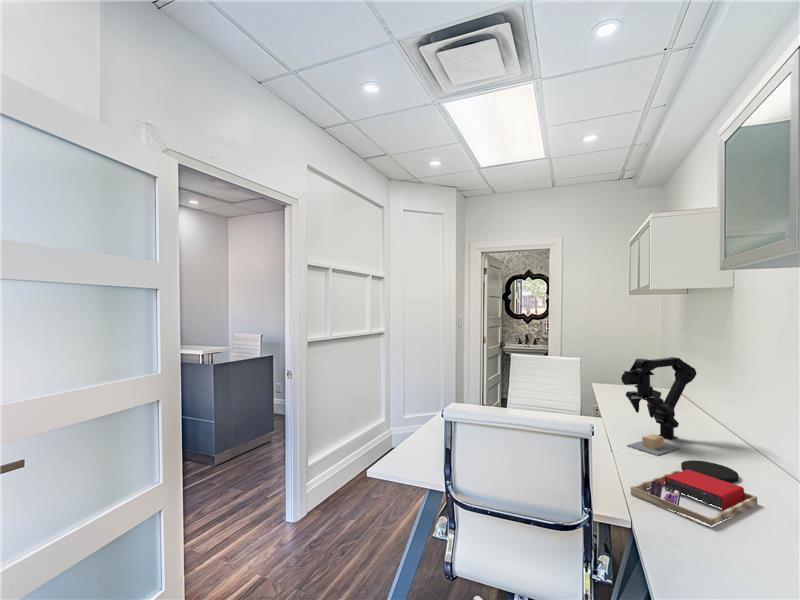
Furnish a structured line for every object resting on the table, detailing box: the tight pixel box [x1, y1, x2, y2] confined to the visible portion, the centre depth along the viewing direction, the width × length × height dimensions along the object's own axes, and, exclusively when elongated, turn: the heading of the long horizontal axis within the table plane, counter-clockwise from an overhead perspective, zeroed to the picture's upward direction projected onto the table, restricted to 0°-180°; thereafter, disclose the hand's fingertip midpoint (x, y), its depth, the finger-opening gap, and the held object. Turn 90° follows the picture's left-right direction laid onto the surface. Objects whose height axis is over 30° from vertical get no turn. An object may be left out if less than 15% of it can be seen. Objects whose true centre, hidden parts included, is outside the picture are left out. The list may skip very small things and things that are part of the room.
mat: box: [626, 440, 681, 457], centre depth 183 cm, size 18×14×1 cm
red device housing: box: [664, 469, 745, 511], centre depth 137 cm, size 18×14×5 cm
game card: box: [649, 481, 681, 506], centre depth 131 cm, size 7×5×9 cm
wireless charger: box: [680, 459, 739, 484], centre depth 154 cm, size 18×18×2 cm
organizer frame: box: [630, 469, 758, 526], centre depth 134 cm, size 30×25×2 cm
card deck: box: [642, 433, 665, 449], centre depth 183 cm, size 5×8×4 cm, turn 117°
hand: (644, 415), depth 195 cm, fingers open, 9 cm apart
